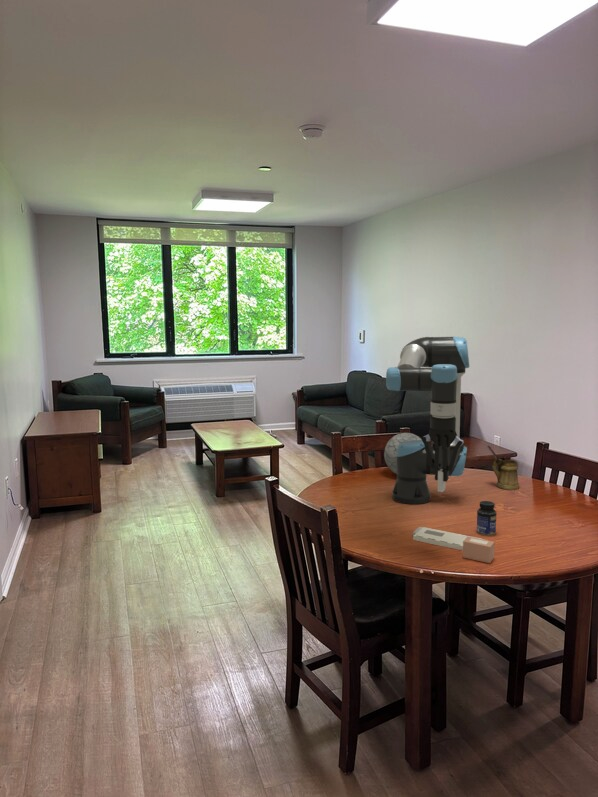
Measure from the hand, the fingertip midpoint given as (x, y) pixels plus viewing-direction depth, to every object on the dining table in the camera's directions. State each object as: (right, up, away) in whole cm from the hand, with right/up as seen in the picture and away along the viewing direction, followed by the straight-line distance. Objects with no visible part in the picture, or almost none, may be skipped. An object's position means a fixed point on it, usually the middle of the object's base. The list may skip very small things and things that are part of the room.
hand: (441, 490), depth 175 cm
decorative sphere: (+5, -7, +86) cm, 86 cm away
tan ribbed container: (+43, -9, +67) cm, 80 cm away
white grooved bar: (+4, -17, +7) cm, 19 cm away
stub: (+10, -19, -6) cm, 22 cm away
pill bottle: (+18, -17, +14) cm, 29 cm away
